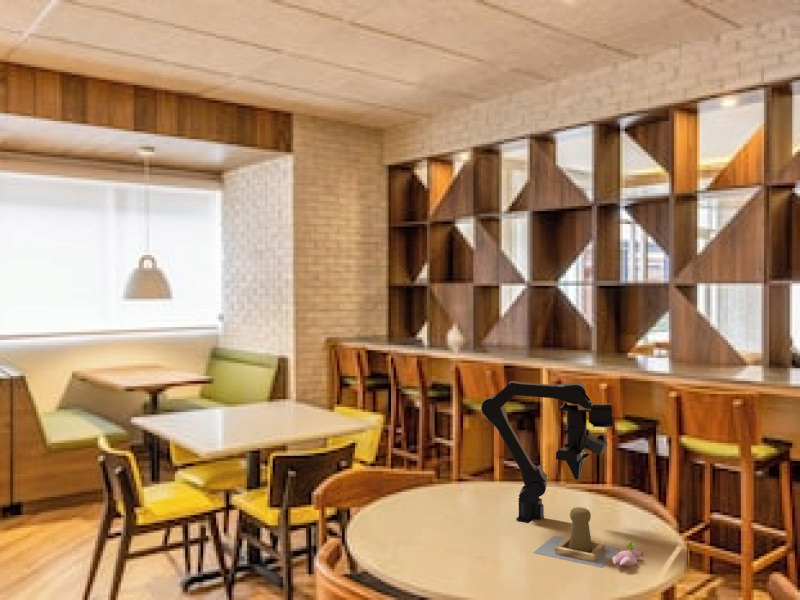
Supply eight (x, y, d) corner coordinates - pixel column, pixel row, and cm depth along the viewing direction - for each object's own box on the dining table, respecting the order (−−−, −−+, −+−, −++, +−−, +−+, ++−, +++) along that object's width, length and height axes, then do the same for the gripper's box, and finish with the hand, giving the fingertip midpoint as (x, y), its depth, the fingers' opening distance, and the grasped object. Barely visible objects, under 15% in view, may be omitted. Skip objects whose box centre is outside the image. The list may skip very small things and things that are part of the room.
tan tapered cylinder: (593, 556, 173) (593, 512, 172) (569, 554, 174) (568, 511, 174) (591, 547, 178) (591, 505, 178) (567, 546, 180) (567, 504, 180)
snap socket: (554, 553, 175) (554, 547, 175) (568, 541, 183) (568, 536, 183) (593, 561, 169) (593, 555, 169) (605, 549, 177) (605, 543, 177)
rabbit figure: (624, 559, 177) (604, 568, 165) (625, 535, 178) (605, 543, 166) (649, 564, 173) (630, 574, 161) (650, 540, 174) (631, 548, 162)
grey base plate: (532, 556, 175) (532, 552, 175) (554, 539, 188) (554, 535, 188) (602, 571, 165) (602, 567, 165) (620, 552, 178) (620, 548, 178)
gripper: (593, 434, 188) (594, 490, 188) (613, 423, 204) (613, 475, 204) (554, 430, 194) (555, 485, 194) (576, 420, 210) (577, 470, 210)
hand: (577, 479), depth 200 cm, fingers closed
